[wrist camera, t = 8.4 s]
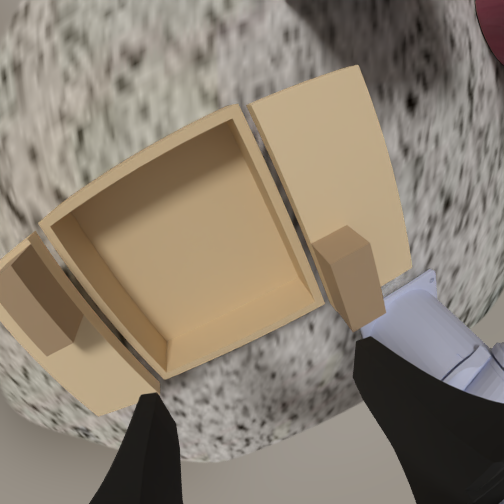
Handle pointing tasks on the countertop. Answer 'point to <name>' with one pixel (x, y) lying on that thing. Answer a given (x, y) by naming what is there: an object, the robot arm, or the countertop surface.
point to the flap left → (67, 332)
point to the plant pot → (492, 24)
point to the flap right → (338, 187)
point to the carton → (188, 245)
